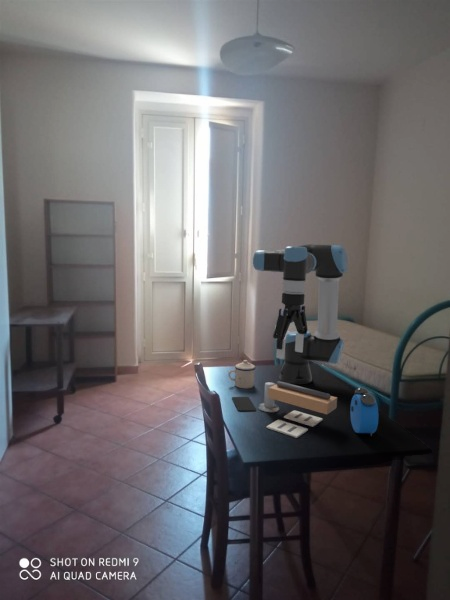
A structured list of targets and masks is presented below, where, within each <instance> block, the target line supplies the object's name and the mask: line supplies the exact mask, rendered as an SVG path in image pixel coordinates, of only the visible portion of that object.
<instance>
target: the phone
mask: <svg viewBox="0 0 450 600" xmlns="http://www.w3.org/2000/svg"><path fill="white" fill-rule="evenodd" d="M231 401H232V402H233V404H234V406H235V408H236V410H237V411H238V413H239V412H240V413H241V412H243V413H244V412H245V413H246V412H247V413H249V412H256V411H257V408H256V406H255V405H254V403H253V401H252V399H250V397H249V396H233V397H231Z"/></svg>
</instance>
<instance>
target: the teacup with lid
mask: <svg viewBox="0 0 450 600" xmlns="http://www.w3.org/2000/svg"><path fill="white" fill-rule="evenodd" d="M234 368H235V369H231V370H229V372H228V373H227V374H228V375H227V376H228V378H229V379H230V381H232V382H234V385H235V387H237V388H240V389H251V388H253V387H254V386H255V373H256V371H255V370H256V366H255V364H252V363H250V362H248V360H247V359H244V360H243V361H242V362H239V363H237V364H236V365H235V366H234ZM232 372H234V374H235V375H234V376H235V377H234V378H233V377H231V373H232Z"/></svg>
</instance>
